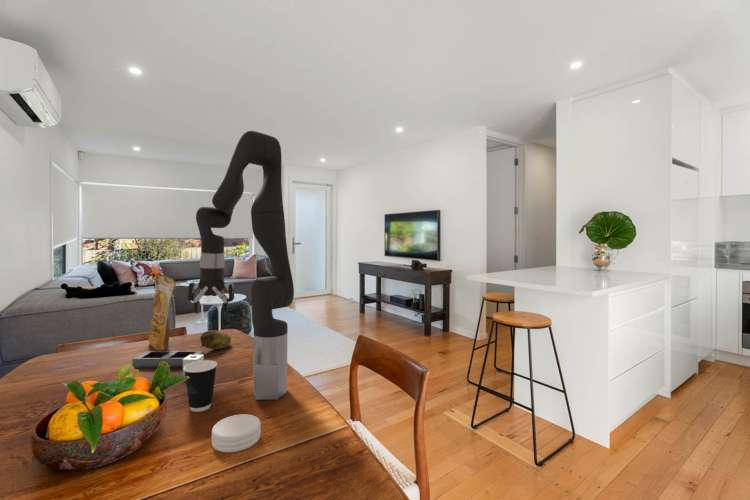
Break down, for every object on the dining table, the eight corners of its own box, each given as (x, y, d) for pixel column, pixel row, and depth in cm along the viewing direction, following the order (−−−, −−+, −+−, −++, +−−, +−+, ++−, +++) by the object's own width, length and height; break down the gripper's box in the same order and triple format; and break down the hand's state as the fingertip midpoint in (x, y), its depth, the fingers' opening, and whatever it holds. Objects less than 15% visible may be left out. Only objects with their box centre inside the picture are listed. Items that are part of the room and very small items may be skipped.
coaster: (245, 423, 84) (245, 408, 84) (269, 438, 78) (269, 423, 78) (203, 441, 76) (203, 425, 76) (226, 460, 70) (226, 443, 70)
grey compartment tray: (194, 367, 118) (194, 358, 118) (132, 368, 117) (132, 358, 117) (204, 359, 126) (204, 350, 126) (146, 360, 125) (146, 351, 125)
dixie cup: (219, 398, 96) (220, 359, 96) (214, 412, 88) (214, 369, 88) (188, 401, 94) (188, 361, 94) (179, 416, 86) (179, 372, 86)
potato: (237, 347, 140) (237, 328, 140) (205, 355, 130) (205, 334, 130) (227, 343, 146) (227, 324, 145) (195, 350, 136) (195, 330, 136)
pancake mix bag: (163, 338, 151) (163, 274, 150) (177, 349, 137) (176, 278, 136) (145, 342, 146) (145, 275, 145) (157, 353, 132) (157, 279, 131)
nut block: (197, 376, 111) (197, 358, 111) (182, 376, 111) (182, 358, 111) (203, 371, 116) (203, 354, 115) (189, 371, 115) (189, 354, 115)
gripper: (185, 266, 114) (184, 315, 115) (231, 268, 116) (230, 316, 117) (193, 264, 121) (192, 310, 122) (236, 265, 124) (235, 310, 125)
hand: (211, 313), depth 120 cm, fingers open, 8 cm apart
